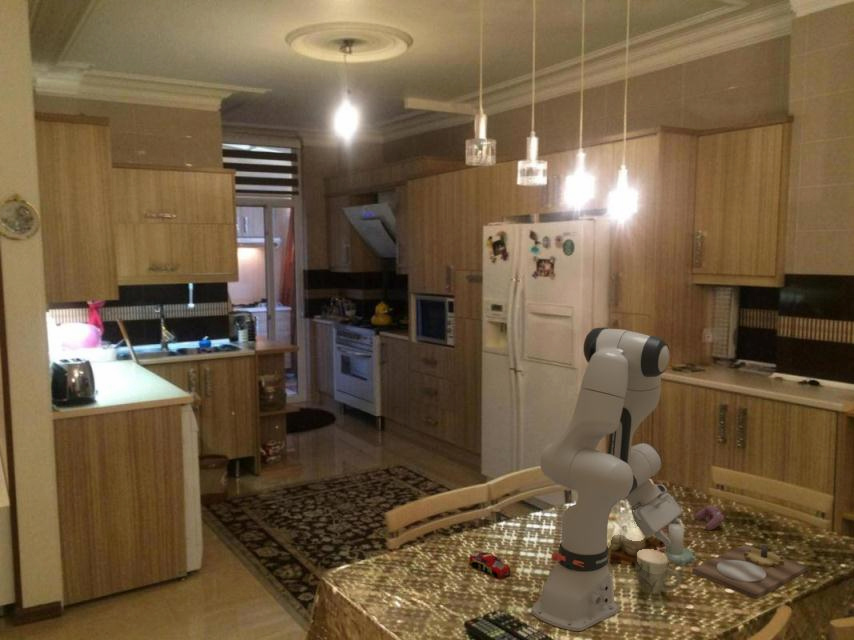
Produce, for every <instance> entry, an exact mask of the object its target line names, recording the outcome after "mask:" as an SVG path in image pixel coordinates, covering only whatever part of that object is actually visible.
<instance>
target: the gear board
mask: <svg viewBox="0 0 854 640" xmlns="http://www.w3.org/2000/svg"><path fill="white" fill-rule="evenodd" d="M768 548H769V546H768V545H767V544H766V545H765V544H761V545H760V548H757V547H754V546H750V545H748V544H743V545H741V546H738V547H735V548H734V549H732V550H730V551H728V552H725V553H723V554H720V555H719V556H717V557H714V558H712V559H710V560H708V561H706V562H703V563H701V564H699V565H697V566H695V567H692V571H691V572H692V574H694V575H696V576H698V577H699V576H700V577H702V578H704V579H707V580H708V581H711V582H713V581H714V583H716V582H717V584H718V583H719V585H721V584H722V585H721V586H723V585H724V586H723V587H726V588H728V587H729V588H728V589H730V588H731V590H734V591H735V592H737V593H740V594H743V595H745V594H746V595H745V596H747V597H750V598H753V599H755V600H757V599H759V598H761V597H763V596H765V595H767V594H768V593H770V592H772V591H774V590H776V589H777V588H779V587H781V586H784V585H785V584H786V583H788V582H790V581H792V580H793V579H795V578H797V577H799V576H801V575H803V574H804V573H806V572H807V571H808V569H809V567H808V566H807V565H806V564H802V563H799V562H796V561H794V560H791V559H788V558H786V557H784V556H782V555H778V554H776V552H775V551H772V550H771V551H769V550H768Z"/></svg>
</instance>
